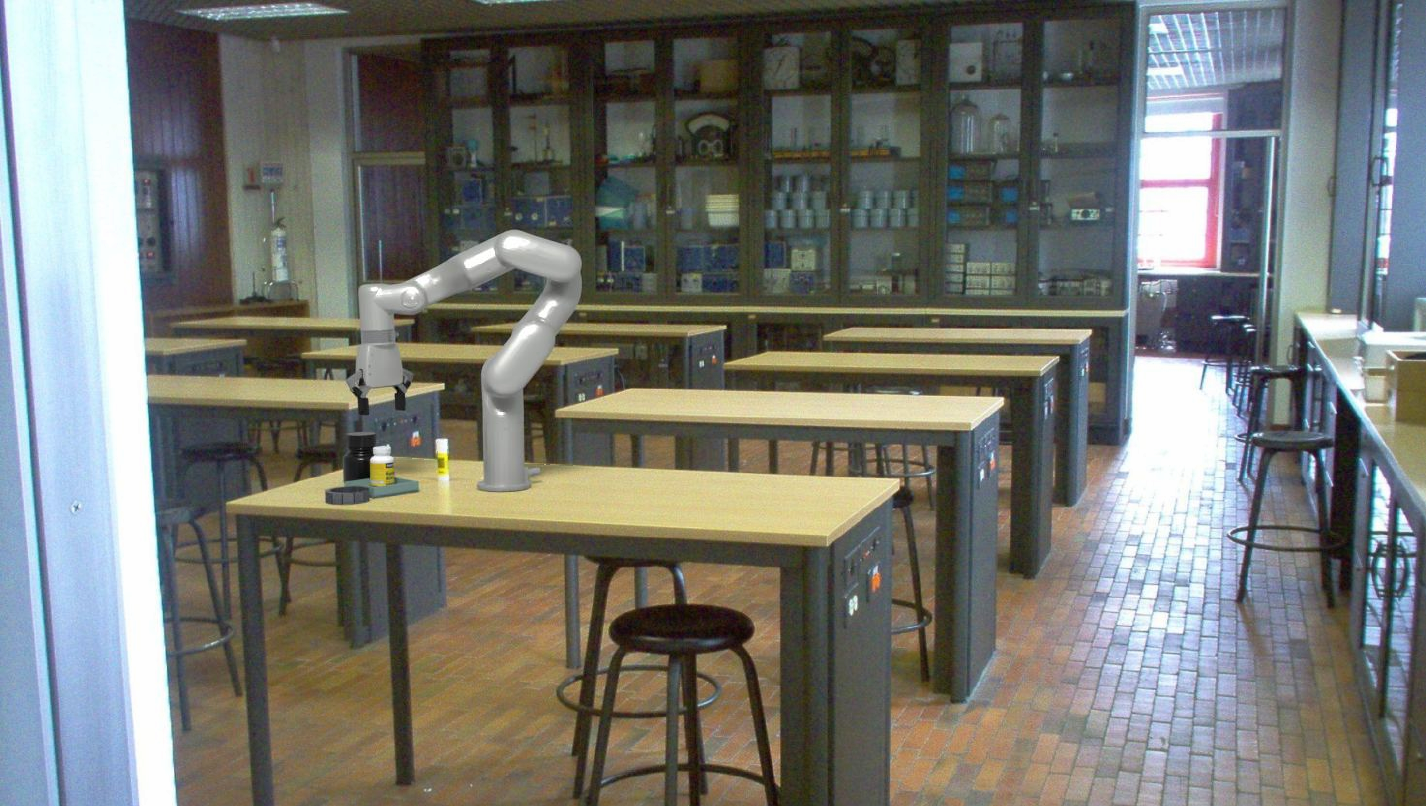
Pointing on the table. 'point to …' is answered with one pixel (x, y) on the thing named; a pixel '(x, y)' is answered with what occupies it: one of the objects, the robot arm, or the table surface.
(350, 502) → the collar
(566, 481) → the table surface
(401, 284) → the robot arm
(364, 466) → the ink bottle
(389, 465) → the supplement bottle
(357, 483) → the tray
